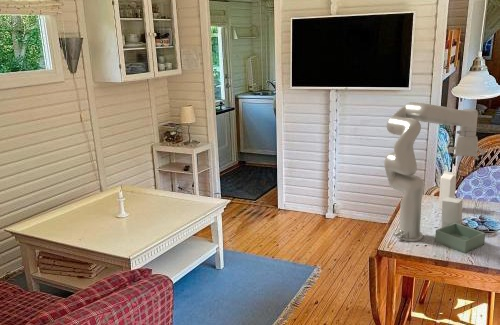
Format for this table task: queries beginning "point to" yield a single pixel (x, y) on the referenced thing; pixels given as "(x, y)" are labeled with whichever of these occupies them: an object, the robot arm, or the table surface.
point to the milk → (447, 186)
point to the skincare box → (451, 211)
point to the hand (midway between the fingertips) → (464, 166)
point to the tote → (460, 237)
